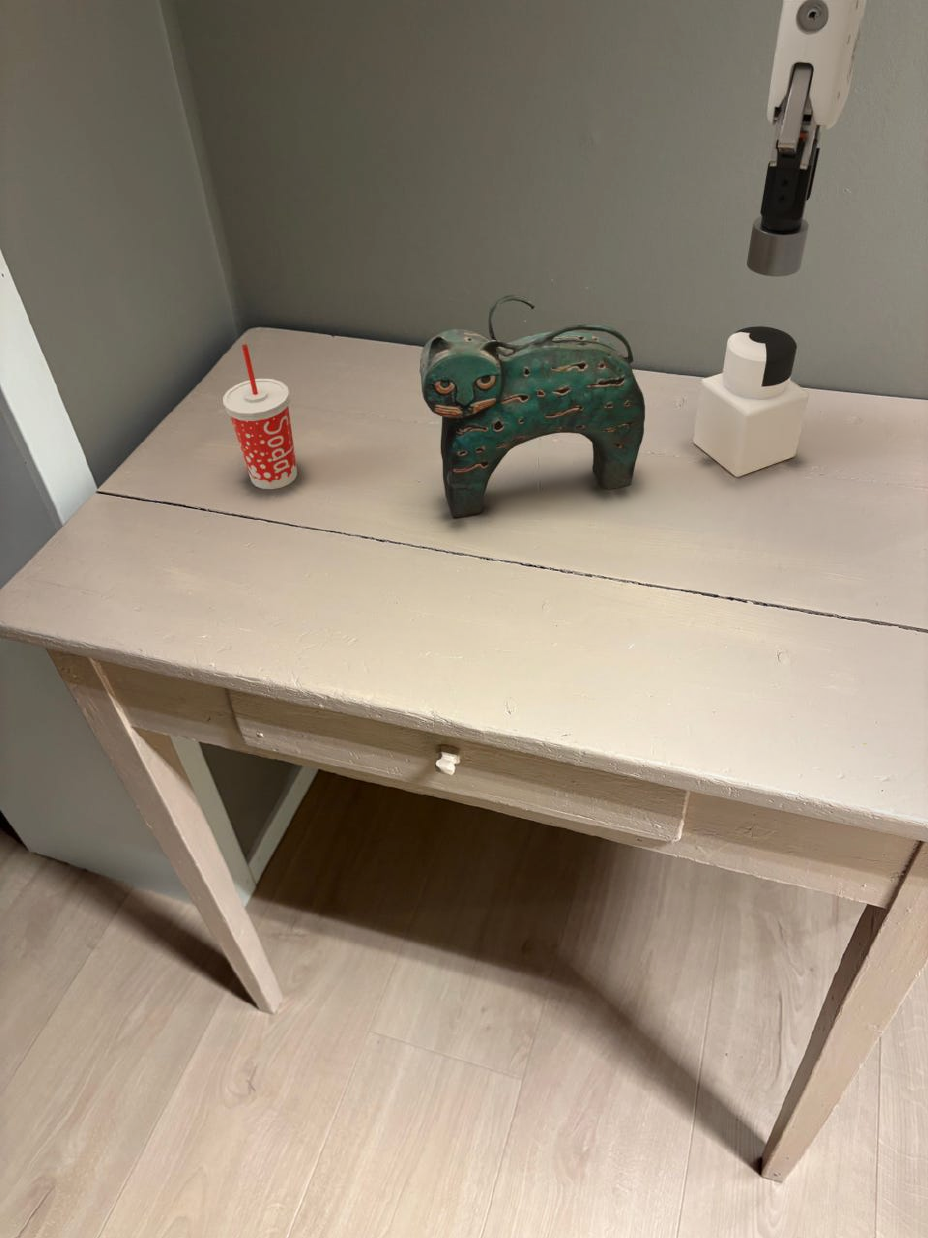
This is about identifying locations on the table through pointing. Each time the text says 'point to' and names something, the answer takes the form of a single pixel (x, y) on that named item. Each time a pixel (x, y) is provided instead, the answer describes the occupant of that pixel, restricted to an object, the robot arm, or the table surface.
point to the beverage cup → (263, 428)
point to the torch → (779, 240)
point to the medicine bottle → (752, 403)
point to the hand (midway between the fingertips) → (785, 205)
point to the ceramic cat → (529, 402)
